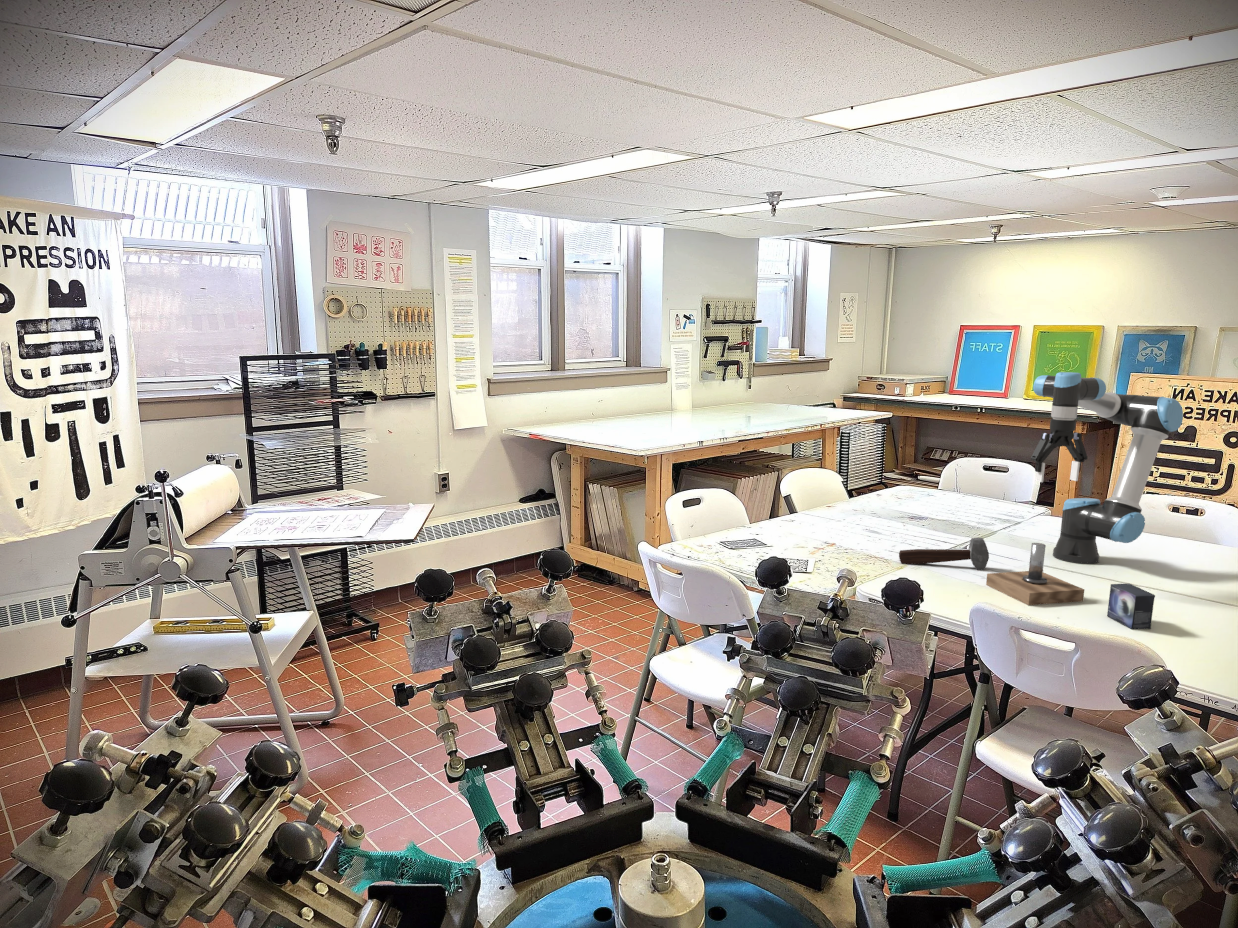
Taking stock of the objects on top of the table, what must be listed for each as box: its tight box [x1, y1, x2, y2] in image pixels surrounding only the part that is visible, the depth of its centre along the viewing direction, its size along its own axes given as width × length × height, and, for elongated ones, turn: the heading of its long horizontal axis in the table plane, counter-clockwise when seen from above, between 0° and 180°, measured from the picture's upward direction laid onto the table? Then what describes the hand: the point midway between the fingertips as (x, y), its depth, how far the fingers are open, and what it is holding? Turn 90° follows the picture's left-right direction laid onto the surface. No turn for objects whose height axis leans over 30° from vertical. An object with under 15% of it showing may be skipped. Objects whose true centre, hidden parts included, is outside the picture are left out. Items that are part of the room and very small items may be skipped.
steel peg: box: [1023, 542, 1047, 585], centre depth 252 cm, size 7×7×16 cm
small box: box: [1106, 582, 1156, 630], centre depth 228 cm, size 11×6×10 cm, turn 5°
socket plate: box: [985, 570, 1085, 606], centre depth 253 cm, size 20×20×4 cm
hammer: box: [898, 537, 990, 571], centre depth 282 cm, size 5×11×30 cm
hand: (1056, 481), depth 262 cm, fingers open, 13 cm apart
